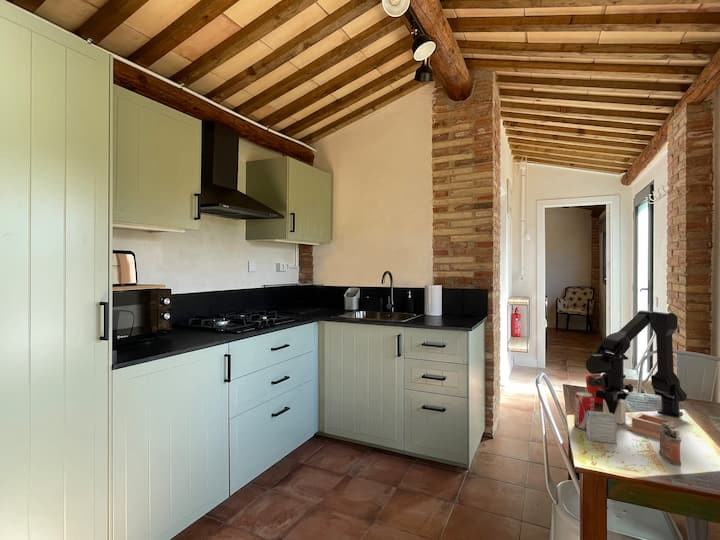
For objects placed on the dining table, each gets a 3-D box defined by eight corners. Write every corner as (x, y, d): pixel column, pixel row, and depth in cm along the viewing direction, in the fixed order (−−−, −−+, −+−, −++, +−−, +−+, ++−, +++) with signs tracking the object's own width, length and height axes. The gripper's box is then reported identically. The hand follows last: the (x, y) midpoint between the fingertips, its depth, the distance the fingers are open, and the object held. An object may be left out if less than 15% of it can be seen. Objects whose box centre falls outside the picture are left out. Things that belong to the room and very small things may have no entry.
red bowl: (611, 395, 174) (611, 373, 174) (627, 409, 157) (627, 384, 157) (578, 394, 177) (578, 371, 177) (592, 407, 160) (591, 382, 160)
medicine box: (613, 438, 131) (612, 412, 131) (616, 444, 127) (616, 417, 127) (586, 435, 134) (586, 410, 134) (589, 441, 130) (589, 414, 130)
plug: (607, 416, 150) (607, 395, 150) (625, 421, 145) (625, 400, 145) (603, 419, 147) (603, 397, 147) (621, 424, 143) (621, 402, 142)
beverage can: (570, 424, 143) (570, 391, 143) (586, 423, 144) (586, 390, 144) (581, 431, 137) (581, 397, 137) (598, 430, 138) (598, 396, 138)
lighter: (684, 466, 113) (684, 431, 113) (670, 465, 114) (670, 430, 113) (668, 453, 121) (668, 420, 121) (655, 452, 121) (655, 420, 121)
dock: (638, 422, 144) (638, 411, 144) (679, 433, 135) (679, 421, 135) (627, 429, 138) (627, 417, 138) (669, 441, 129) (669, 428, 129)
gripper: (601, 363, 158) (601, 402, 158) (579, 371, 147) (579, 412, 147) (633, 369, 149) (633, 410, 149) (612, 377, 138) (613, 422, 138)
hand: (614, 413), depth 146 cm, fingers closed on plug, 4 cm apart
